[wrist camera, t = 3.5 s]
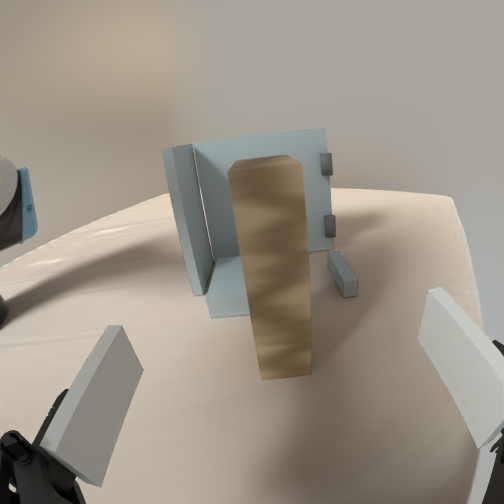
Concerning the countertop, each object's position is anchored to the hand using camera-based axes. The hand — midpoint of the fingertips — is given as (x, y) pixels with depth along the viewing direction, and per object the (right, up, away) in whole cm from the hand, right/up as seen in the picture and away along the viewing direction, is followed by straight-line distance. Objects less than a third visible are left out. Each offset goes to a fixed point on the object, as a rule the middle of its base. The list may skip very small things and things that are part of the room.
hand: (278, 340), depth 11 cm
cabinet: (+2, 0, +26) cm, 26 cm away
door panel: (+2, -5, +13) cm, 14 cm away
